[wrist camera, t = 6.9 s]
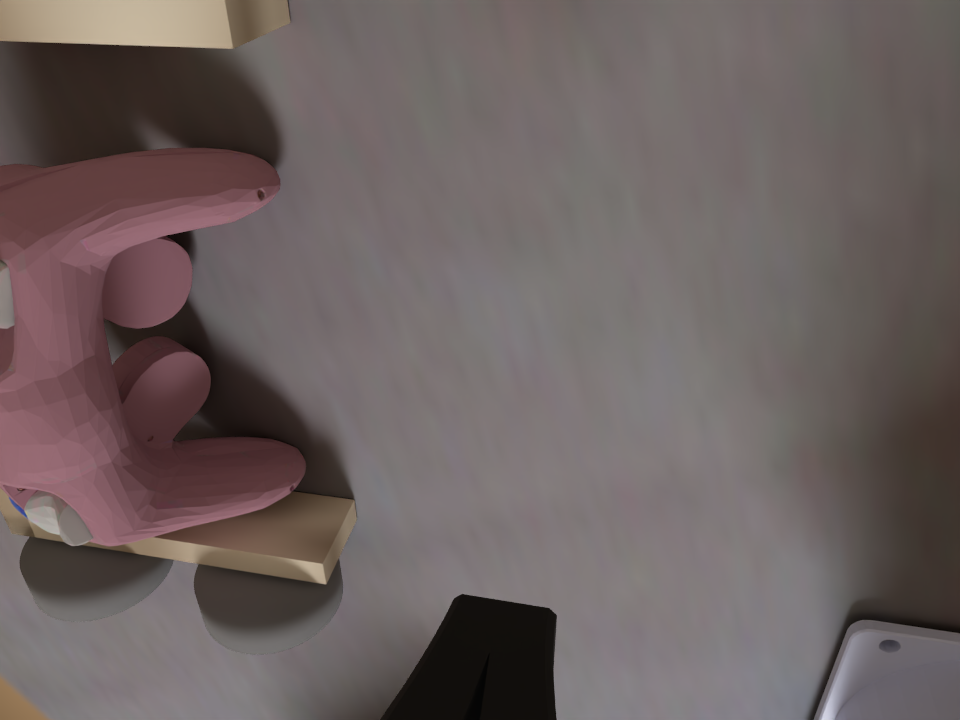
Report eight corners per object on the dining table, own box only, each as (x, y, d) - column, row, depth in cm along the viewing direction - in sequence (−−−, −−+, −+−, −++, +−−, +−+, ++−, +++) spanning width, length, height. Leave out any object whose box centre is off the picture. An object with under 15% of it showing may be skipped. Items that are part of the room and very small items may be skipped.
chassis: (272, -111, 15) (155, -99, 11) (361, 555, 24) (312, 665, 21) (-260, -108, 17) (-489, -97, 13) (16, 502, 26) (-78, 595, 23)
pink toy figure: (172, 102, 19) (-166, 174, 14) (298, 149, 17) (-55, 252, 12) (224, 421, 24) (-8, 548, 20) (323, 489, 22) (88, 650, 18)
